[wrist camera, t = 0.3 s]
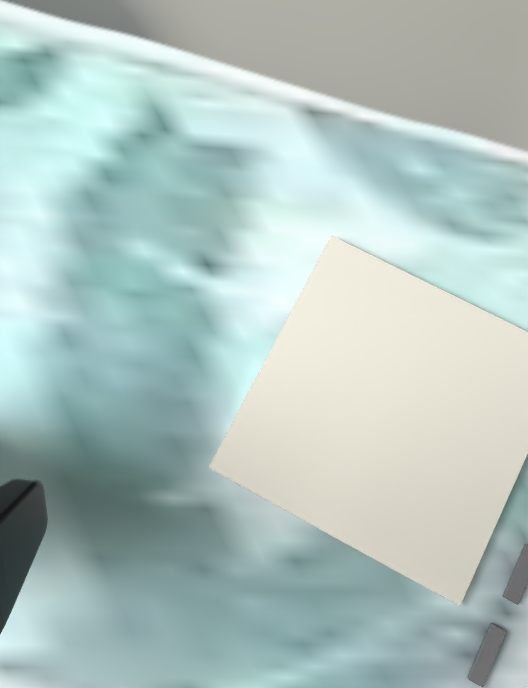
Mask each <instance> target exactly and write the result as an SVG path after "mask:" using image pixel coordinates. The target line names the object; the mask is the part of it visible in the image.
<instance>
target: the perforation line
mask: <svg viewBox="0 0 528 688" xmlns="http://www.w3.org/2000/svg"><path fill="white" fill-rule="evenodd" d="M527 583H528V545H526V544H525V546H524V548H523V551H522V553H521V555H520V557H519V560H518V562H517V564H516V567H515V569H514V571H513V574H512V576H511V578H510V581H509V583H508V585H507V587H506V590H505V592H504V594H503V597H504V598H506V599H508V600H510V601H511V602H513V603H515V604H517V605H518V604H519V602H520V599H521V597H522V595H523V592H524V590H525V588H526V585H527ZM505 634H506V631H505V630H503V629H501V628H499V627H498V626H496V625H494V624H492V623H491V624H490V627H489V629H488V631H487V634H486V636H485V638H484V640H483V643H482V645H481V647H480V650H479V652H478V654H477V657H476V659H475V661H474V664H473V666H472V668H471V670H470V673H469V675H468V677H467V678H468V679H469V680H470V681H472V682H474V683H476V684H477V685H479V686H481V687H483V686H484V683H485V681H486V679H487V676H488V674H489V672H490V669H491V667H492V665H493V662H494V660H495V658H496V655H497V653H498V651H499V648H500V646H501V644H502V641H503V639H504V637H505Z"/></svg>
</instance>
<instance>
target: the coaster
mask: <svg viewBox="0 0 528 688" xmlns="http://www.w3.org/2000/svg"><path fill="white" fill-rule="evenodd" d="M527 454H528V332H527V331H525V330H523V329H521V328H519V327H517V326H515V325H513V324H511V323H509V322H507V321H505V320H503V319H501V318H499V317H497V316H494V315H492V314H490V313H488V312H486V311H484V310H482V309H480V308H478V307H476V306H474V305H472V304H470V303H468V302H466V301H464V300H462V299H460V298H458V297H456V296H454V295H452V294H450V293H448V292H446V291H443V290H441V289H439V288H437V287H435V286H433V285H431V284H429V283H427V282H425V281H423V280H421V279H419V278H417V277H415V276H413V275H411V274H409V273H407V272H405V271H403V270H401V269H399V268H397V267H395V266H393V265H390V264H388V263H386V262H384V261H382V260H380V259H378V258H376V257H374V256H372V255H370V254H368V253H366V252H364V251H362V250H360V249H358V248H356V247H354V246H352V245H350V244H348V243H346V242H344V241H342V240H339V239H337V238H335V237H333V236H331V237H330V239H329V241H328V243H327V245H326V247H325V249H324V251H323V253H322V254H321V256H320V258H319V260H318V262H317V264H316V266H315V268H314V270H313V271H312V273H311V275H310V277H309V279H308V281H307V283H306V285H305V287H304V288H303V290H302V292H301V294H300V296H299V298H298V300H297V302H296V303H295V305H294V307H293V309H292V311H291V313H290V315H289V317H288V319H287V320H286V322H285V324H284V326H283V328H282V330H281V332H280V334H279V336H278V337H277V339H276V341H275V343H274V345H273V347H272V349H271V351H270V353H269V354H268V356H267V358H266V360H265V362H264V364H263V366H262V368H261V369H260V371H259V373H258V375H257V377H256V379H255V381H254V383H253V385H252V386H251V388H250V390H249V392H248V394H247V396H246V398H245V400H244V402H243V403H242V405H241V407H240V409H239V411H238V413H237V415H236V417H235V419H234V420H233V422H232V424H231V426H230V428H229V430H228V432H227V434H226V436H225V437H224V439H223V441H222V443H221V445H220V447H219V449H218V451H217V452H216V454H215V456H214V458H213V460H212V462H211V464H210V466H209V469H211V470H213V471H215V472H217V473H218V474H220V475H222V476H224V477H226V478H227V479H229V480H231V481H233V482H235V483H237V484H238V485H240V486H242V487H244V488H246V489H247V490H249V491H251V492H253V493H255V494H257V495H258V496H260V497H262V498H264V499H266V500H268V501H269V502H271V503H273V504H275V505H277V506H278V507H280V508H282V509H284V510H286V511H288V512H289V513H291V514H293V515H295V516H297V517H298V518H300V519H302V520H304V521H306V522H308V523H309V524H311V525H313V526H315V527H317V528H318V529H320V530H322V531H324V532H326V533H328V534H329V535H331V536H333V537H335V538H337V539H339V540H340V541H342V542H344V543H346V544H348V545H349V546H351V547H353V548H355V549H357V550H359V551H360V552H362V553H364V554H366V555H368V556H369V557H371V558H373V559H375V560H377V561H379V562H380V563H382V564H384V565H386V566H388V567H389V568H391V569H393V570H395V571H397V572H399V573H400V574H402V575H404V576H406V577H408V578H410V579H411V580H413V581H415V582H417V583H419V584H420V585H422V586H424V587H426V588H428V589H430V590H431V591H433V592H435V593H437V594H439V595H440V596H442V597H444V598H446V599H448V600H450V601H451V602H453V603H455V604H457V605H459V606H460V605H461V603H462V601H463V598H464V596H465V594H466V592H467V589H468V587H469V585H470V583H471V580H472V578H473V576H474V574H475V571H476V569H477V567H478V564H479V562H480V560H481V558H482V555H483V553H484V551H485V549H486V546H487V544H488V542H489V540H490V537H491V535H492V533H493V531H494V528H495V526H496V524H497V522H498V519H499V517H500V515H501V513H502V510H503V508H504V506H505V504H506V501H507V499H508V497H509V495H510V492H511V490H512V488H513V486H514V483H515V481H516V479H517V477H518V474H519V472H520V470H521V468H522V465H523V463H524V461H525V459H526V456H527Z"/></svg>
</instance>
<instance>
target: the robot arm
mask: <svg viewBox="0 0 528 688" xmlns="http://www.w3.org/2000/svg"><path fill="white" fill-rule="evenodd" d="M47 520H48V519H47V509H46V501H45V493H44V487H43V484H42V483H41V482H40V481H38V480H33V479H25V478H15V479H12V480H10V481H8V482H7V483H5V484H3V485H1V486H0V634H1V632H2V630H3V628H4V626H5V624H6V622H7V620H8V618H9V615H10V613H11V611H12V609H13V606H14V604H15V602H16V599H17V597H18V595H19V592H20V590H21V588H22V585H23V583H24V581H25V578H26V576H27V574H28V571H29V569H30V567H31V564H32V562H33V560H34V557H35V555H36V553H37V550H38V548H39V546H40V543H41V541H42V539H43V536H44V534H45V531H46V528H47Z"/></svg>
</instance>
